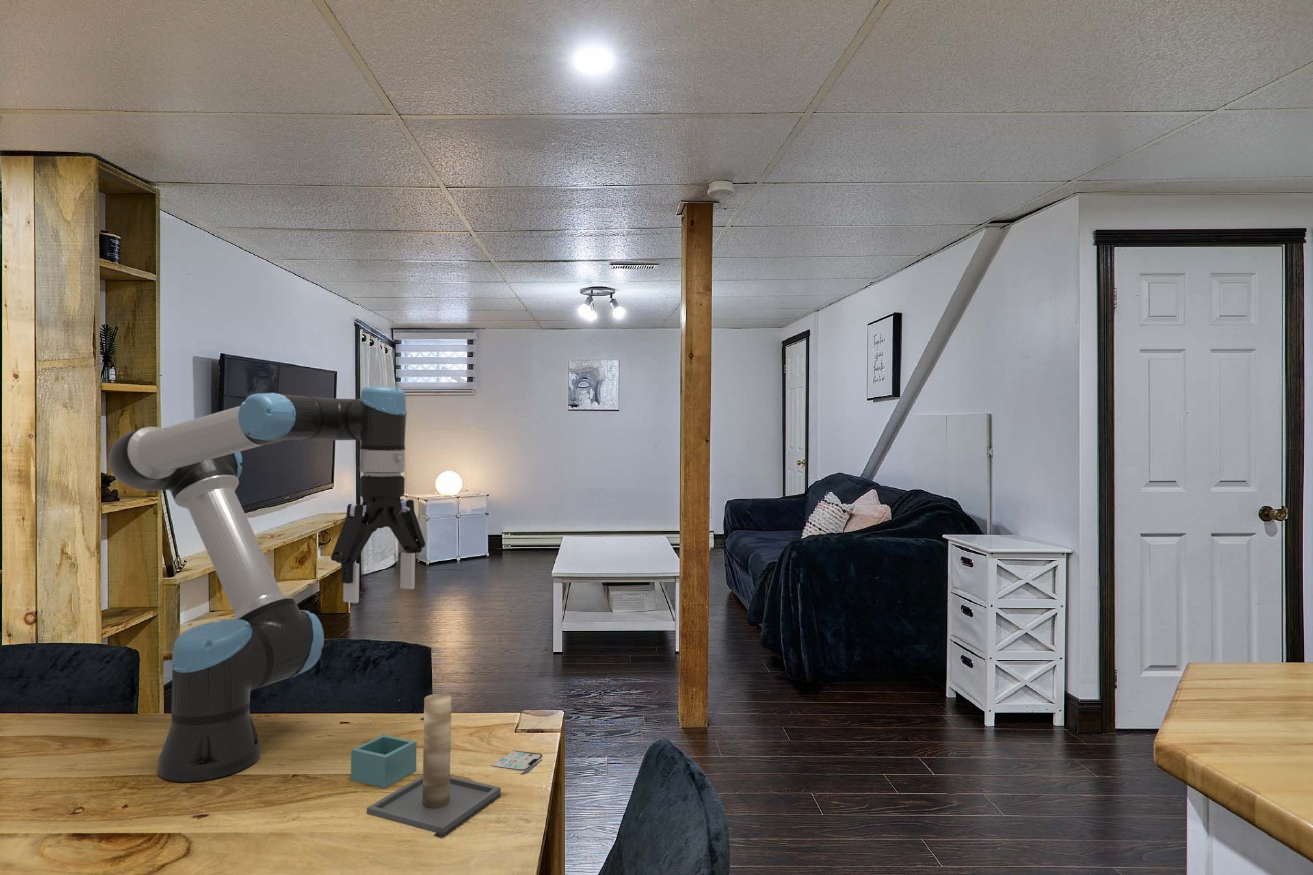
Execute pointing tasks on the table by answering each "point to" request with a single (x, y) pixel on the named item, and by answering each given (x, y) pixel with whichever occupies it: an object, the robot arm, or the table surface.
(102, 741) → the table surface
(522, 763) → the smartphone
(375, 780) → the teal open box
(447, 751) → the dowel
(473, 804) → the tray
